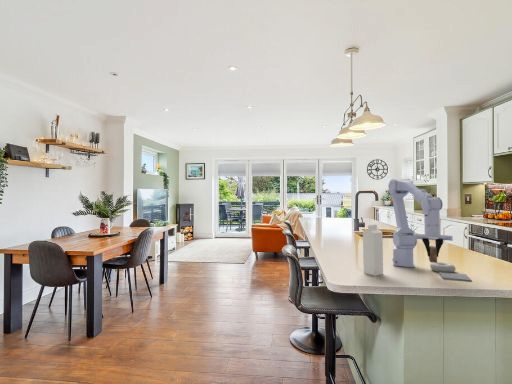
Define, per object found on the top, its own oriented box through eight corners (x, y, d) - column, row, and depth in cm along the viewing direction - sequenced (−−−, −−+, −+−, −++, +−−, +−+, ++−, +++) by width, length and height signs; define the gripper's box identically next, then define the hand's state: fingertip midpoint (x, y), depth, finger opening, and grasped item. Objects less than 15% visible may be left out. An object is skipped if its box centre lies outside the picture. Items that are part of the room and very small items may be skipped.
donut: (460, 264, 132) (444, 267, 129) (461, 272, 132) (444, 274, 129) (440, 260, 142) (424, 262, 139) (440, 267, 142) (425, 269, 139)
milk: (383, 274, 131) (382, 225, 132) (374, 276, 128) (373, 225, 129) (372, 271, 137) (371, 224, 137) (363, 273, 134) (362, 224, 134)
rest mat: (442, 278, 122) (442, 277, 122) (439, 273, 132) (439, 271, 132) (471, 281, 118) (471, 280, 118) (465, 275, 127) (465, 274, 127)
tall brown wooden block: (430, 262, 125) (430, 248, 125) (428, 259, 130) (428, 246, 131) (437, 262, 124) (436, 248, 124) (435, 259, 129) (434, 246, 130)
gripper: (413, 225, 127) (414, 256, 127) (453, 226, 121) (454, 259, 121) (412, 224, 133) (413, 253, 133) (450, 224, 127) (451, 256, 127)
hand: (432, 256), depth 127 cm, fingers closed on tall brown wooden block, 2 cm apart
